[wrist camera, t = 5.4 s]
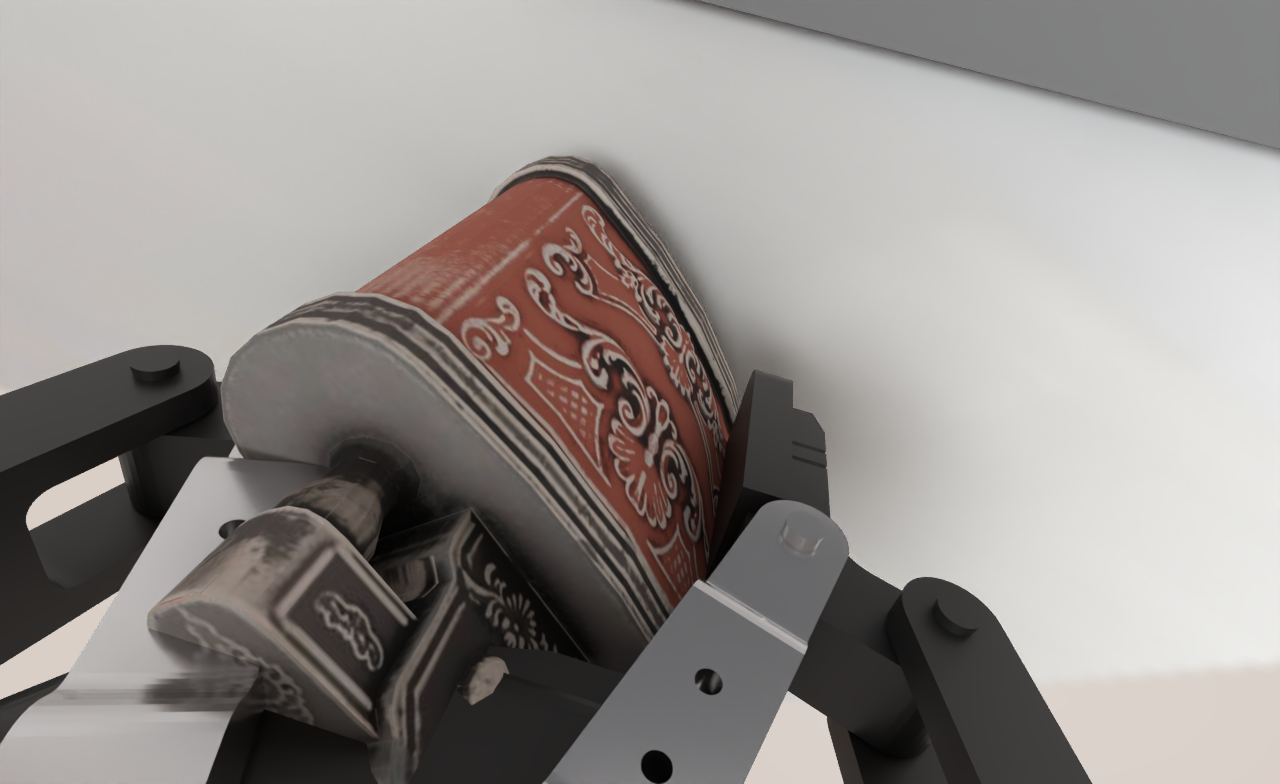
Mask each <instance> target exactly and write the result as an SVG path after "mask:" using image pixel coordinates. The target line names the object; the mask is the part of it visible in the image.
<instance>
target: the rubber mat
mask: <svg viewBox="0 0 1280 784" xmlns="http://www.w3.org/2000/svg"><path fill="white" fill-rule="evenodd" d="M699 1H703V2H707V3H711V4H715V5H719V6H723V7H726V8H730V9H734V10H738V11H742V12H746V13H750V14H754V15H758V16H762V17H766V18H770V19H773V20H777V21H781V22H785V23H789V24H793V25H797V26H801V27H805V28H809V29H813V30H816V31H820V32H824V33H828V34H832V35H836V36H840V37H844V38H848V39H852V40H856V41H859V42H863V43H867V44H871V45H875V46H879V47H883V48H887V49H891V50H895V51H899V52H903V53H906V54H910V55H914V56H918V57H922V58H926V59H930V60H934V61H938V62H942V63H946V64H949V65H953V66H957V67H961V68H965V69H969V70H973V71H977V72H981V73H985V74H989V75H992V76H996V77H1000V78H1004V79H1008V80H1012V81H1016V82H1020V83H1024V84H1028V85H1032V86H1036V87H1039V88H1043V89H1047V90H1051V91H1055V92H1059V93H1063V94H1067V95H1071V96H1075V97H1079V98H1082V99H1086V100H1090V101H1094V102H1098V103H1102V104H1106V105H1110V106H1114V107H1118V108H1122V109H1126V110H1129V111H1133V112H1137V113H1141V114H1145V115H1149V116H1153V117H1157V118H1161V119H1165V120H1169V121H1172V122H1176V123H1180V124H1184V125H1188V126H1192V127H1196V128H1200V129H1204V130H1208V131H1212V132H1215V133H1219V134H1223V135H1227V136H1231V137H1235V138H1239V139H1243V140H1247V141H1251V142H1255V143H1259V144H1262V145H1266V146H1270V147H1274V148H1278V149H1280V0H699Z"/></svg>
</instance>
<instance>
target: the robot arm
mask: <svg viewBox="0 0 1280 784" xmlns="http://www.w3.org/2000/svg"><path fill="white" fill-rule="evenodd" d="M221 384H222V382H216V377H215V370H214V364H213V362H212V360H211V359H210V358H209V357H208V356H207V355H206V354H204V353H203V352H200V351H198V350H196V349H192V348H189V347H183V346H174V345H156V346H147V347H141V348H136V349H132V350H128V351H125V352H122V353H119V354H116V355H114V356H111V357H108V358H105V359H102V360H99V361H97V362H94V363H91V364H88V365H85V366H82V367H80V368H77V369H74V370H71V371H68V372H66V373H63V374H60V375H57V376H54V377H51V378H49V379H46V380H43V381H40V382H37V383H34V384H32V385H29V386H26V387H23V388H20V389H18V390H15V391H12V392H9V393H6V394H3V395H1V396H0V665H1V664H3V663H5V662H6V661H8V660H9V659H11V658H13V657H14V656H16V655H17V654H19V653H20V652H22V651H24V650H25V649H27V648H28V647H30V646H31V645H33V644H35V643H36V642H38V641H40V640H41V639H43V638H44V637H46V636H48V635H49V634H51V633H52V632H54V631H56V630H57V629H59V628H60V627H62V626H64V625H65V624H67V623H68V622H70V621H71V620H73V619H75V618H76V617H78V616H79V615H81V614H83V613H84V612H86V611H87V610H89V609H90V608H92V607H94V606H95V605H97V604H99V603H100V602H102V601H103V600H105V599H106V598H108V597H110V596H111V595H113V594H114V593H116V592H118V591H119V592H118V593H117V595H116V597H115V598H114V600H113V602H112V603H111V605H110V607H109V608H108V610H107V611H106V613H105V615H104V616H103V618H102V620H101V622H100V623H99V625H98V626H97V628H96V629H95V631H94V633H93V635H92V636H91V638H90V639H89V641H88V643H87V644H86V646H85V647H84V649H83V651H82V652H81V654H80V656H79V657H78V659H77V661H76V662H75V664H74V666H73V667H72V669H71V670H70V672H68V673H66V674H63V675H61V676H58V677H56V678H53V679H51V680H48V681H46V682H44V683H41V684H38V685H36V686H33V687H31V688H28V689H26V690H23V691H21V692H18V693H16V694H13V695H11V696H8V697H6V698H3V699H1V700H0V784H378V782H377V781H376V779H375V777H374V775H373V774H372V772H371V766H370V760H369V754H368V748H367V744H366V743H363V742H360V741H357V740H354V739H351V738H348V737H345V736H342V735H340V734H337V733H334V732H331V731H328V730H325V729H322V728H319V727H316V726H313V725H310V724H307V723H304V722H301V721H298V720H295V719H292V718H289V717H286V716H283V715H280V714H277V713H275V712H272V711H269V710H266V709H265V706H266V698H265V691H264V685H263V679H262V672H261V666H260V665H258V664H255V663H252V662H249V661H246V660H243V659H240V658H237V657H234V656H231V655H228V654H225V653H222V652H219V651H216V650H213V649H210V648H207V647H204V646H201V645H198V644H195V643H192V642H189V641H186V640H183V639H180V638H177V637H174V636H171V635H168V634H165V633H162V632H159V631H156V630H153V629H150V628H148V627H147V625H146V623H147V617H148V612H149V611H150V610H151V609H152V608H153V607H154V606H155V605H156V604H157V603H158V602H159V601H161V600H162V599H163V598H164V597H165V596H166V595H167V594H168V593H169V592H170V591H171V590H172V589H173V588H174V587H175V586H176V585H177V584H178V583H180V582H181V581H182V580H183V579H184V578H185V577H186V576H187V575H188V574H189V573H190V572H191V571H192V570H193V569H194V568H195V567H196V566H197V565H198V564H200V563H201V562H202V561H203V560H204V559H205V558H206V557H207V556H208V555H209V554H210V553H211V552H212V551H213V550H214V549H215V548H216V547H217V546H219V545H220V544H221V543H222V542H223V541H224V540H225V539H226V538H227V537H228V536H229V535H230V534H231V533H232V532H233V531H234V530H235V529H236V528H238V527H239V526H240V525H241V524H242V523H244V522H245V521H247V520H248V519H250V518H251V517H252V516H254V515H257V514H259V513H262V512H264V511H267V510H269V509H272V508H273V507H274V506H275V505H276V504H277V503H279V502H280V501H281V500H282V499H283V498H284V497H285V496H286V495H288V494H289V493H290V492H291V491H292V490H295V489H297V488H299V487H302V486H304V485H306V484H309V483H311V482H313V481H316V480H318V479H321V478H323V477H324V476H325V475H326V474H327V473H328V472H329V469H328V467H325V466H320V465H314V464H308V463H300V462H292V461H276V460H261V459H246V458H243V457H242V455H241V454H240V453H239V451H238V449H237V447H236V445H235V443H234V441H233V439H232V437H231V435H230V433H229V430H228V428H227V426H226V424H225V422H224V419H223V409H222V399H221V389H220V387H221ZM825 452H826V446H825V433H824V431H823V429H822V428H821V426H820V425H819V423H818V422H817V420H816V418H815V417H814V415H813V414H811V413H808V412H805V411H801V410H798V409H795V408H793V382H792V381H791V380H788V379H784V378H781V377H778V376H774V375H771V374H767V373H764V372H761V371H757V370H754V371H753V373H752V375H751V377H750V380H749V383H748V385H747V388H746V391H745V394H744V396H743V399H742V402H741V405H740V407H739V410H738V413H737V416H736V418H735V421H734V424H733V426H732V429H731V432H730V435H729V438H728V441H727V444H726V451H725V457H724V463H723V470H722V476H721V483H720V489H719V495H718V502H717V508H716V515H715V521H714V528H713V534H712V540H711V547H710V553H709V560H708V566H707V572H706V579H705V580H703V579H701V578H700V579H698V580H697V581H696V582H695V583H694V585H693V586H692V587H691V588H690V589H689V591H688V592H687V593H686V595H685V596H684V597H683V599H682V600H681V601H680V603H679V604H678V605H677V607H676V608H675V609H674V611H673V612H672V613H671V615H670V616H669V617H668V619H667V620H666V621H665V623H664V624H663V625H662V627H661V628H660V629H659V631H658V632H657V633H656V635H655V636H654V637H653V639H652V640H651V641H650V643H649V644H648V645H647V647H646V648H645V649H644V651H643V652H642V653H641V654H640V656H639V657H638V658H637V660H636V661H635V662H634V664H633V665H632V666H631V668H630V669H629V670H628V672H627V673H626V674H621V673H618V672H615V671H612V670H609V669H606V668H603V667H600V666H597V665H594V664H590V663H587V662H584V661H581V660H578V659H575V658H572V657H569V656H566V655H563V654H559V653H556V652H553V651H545V650H532V649H520V648H508V647H496V646H489V648H488V651H487V653H486V654H489V655H492V656H495V657H498V658H500V659H502V660H503V661H504V662H505V664H506V667H507V669H508V671H509V674H507V673H504V672H503V677H502V679H501V680H500V682H499V684H498V685H497V686H496V688H495V690H494V692H493V693H492V694H490V695H488V696H487V697H485V698H483V699H482V700H480V701H478V702H477V703H475V704H473V705H471V704H470V703H469V702H468V701H467V700H466V699H465V698H464V697H463V696H462V695H461V694H460V693H459V692H458V691H457V688H456V690H455V692H454V694H453V696H452V698H451V700H450V702H449V704H448V706H447V708H446V710H445V712H444V714H443V716H442V718H441V720H440V722H439V724H438V726H437V728H436V730H435V732H434V734H433V736H432V738H431V740H430V742H429V744H428V746H427V748H426V751H425V753H424V755H423V757H422V759H421V761H420V763H419V765H418V767H417V769H416V771H415V773H414V775H413V777H412V779H411V781H410V783H409V784H744V781H745V779H746V777H747V775H748V773H749V771H750V769H751V767H752V765H753V762H754V760H755V758H756V756H757V754H758V752H759V750H760V748H761V746H762V743H763V741H764V739H765V737H766V735H767V733H768V731H769V729H770V727H771V724H772V722H773V720H774V718H775V716H776V714H777V712H778V710H779V707H780V705H781V703H782V701H783V699H784V697H785V695H786V693H787V691H789V692H791V693H792V694H794V695H795V696H797V697H798V698H800V699H801V700H803V701H804V702H806V703H807V704H809V705H810V706H812V707H814V708H815V709H817V710H818V711H820V712H821V713H823V714H824V715H826V716H827V723H828V728H829V732H830V735H831V739H832V742H833V746H834V749H835V753H836V757H837V760H838V764H839V767H840V771H841V775H842V778H843V781H844V784H1092V782H1091V781H1090V779H1089V777H1088V775H1087V774H1086V772H1085V770H1084V769H1083V767H1082V765H1081V763H1080V761H1079V760H1078V758H1077V756H1076V755H1075V753H1074V751H1073V749H1072V748H1071V746H1070V744H1069V742H1068V741H1067V739H1066V737H1065V735H1064V734H1063V732H1062V730H1061V728H1060V727H1059V725H1058V723H1057V722H1056V720H1055V718H1054V716H1053V715H1052V713H1051V711H1050V709H1049V708H1048V706H1047V704H1046V703H1045V701H1044V700H1043V697H1042V696H1041V694H1040V692H1039V691H1038V689H1037V687H1036V685H1035V683H1034V682H1033V680H1032V678H1031V676H1030V675H1029V673H1028V671H1027V670H1026V668H1025V666H1024V664H1023V663H1022V661H1021V659H1020V657H1019V656H1018V654H1017V652H1016V650H1015V649H1014V647H1013V645H1012V643H1011V642H1010V640H1009V638H1008V637H1007V635H1006V633H1005V631H1004V630H1003V628H1002V626H1001V624H1000V623H999V621H998V620H997V618H996V617H995V616H994V614H993V613H992V612H991V611H990V610H989V609H988V608H987V607H986V606H985V605H984V604H983V603H982V602H981V601H980V600H979V599H978V598H976V597H975V596H974V595H972V594H971V593H969V592H968V591H966V590H965V589H963V588H961V587H959V586H958V585H955V584H953V583H951V582H948V581H945V580H942V579H938V578H933V577H921V578H916V579H914V580H912V581H910V582H909V583H907V585H906V586H905V587H904V589H903V590H902V591H901V590H899V589H898V588H896V587H894V586H892V585H891V584H889V583H887V582H885V581H883V580H882V579H880V578H878V577H876V576H874V575H873V574H871V573H869V572H868V571H866V570H865V569H863V568H862V567H860V566H859V565H858V564H856V563H855V562H854V561H853V560H852V559H851V558H850V557H849V556H848V555H849V546H848V542H847V539H846V537H845V535H844V534H843V532H842V530H841V529H840V528H839V527H838V525H837V524H836V523H835V522H834V521H833V520H832V519H830V506H829V491H828V476H827V469H826V466H827V461H826V454H825ZM117 456H118V457H119V461H120V464H121V468H122V472H123V476H124V479H125V483H123V484H121V485H119V486H117V487H115V488H113V489H111V490H109V491H107V492H105V493H103V494H101V495H99V496H97V497H95V498H93V499H91V500H89V501H87V502H85V503H83V504H81V505H79V506H77V507H75V508H73V509H71V510H69V511H67V512H65V513H64V514H62V515H60V516H58V517H56V518H54V519H52V520H50V521H48V522H46V523H44V524H42V525H40V526H38V527H36V528H34V529H32V530H30V531H29V530H28V528H27V525H26V515H27V512H28V509H29V507H30V506H31V505H32V503H33V502H34V501H35V499H37V498H38V497H39V496H40V495H41V494H42V493H43V492H45V491H46V490H48V489H50V488H52V487H54V486H56V485H58V484H60V483H62V482H64V481H67V480H69V479H71V478H73V477H75V476H77V475H79V474H81V473H84V472H86V471H88V470H90V469H92V468H94V467H96V466H98V465H100V464H103V463H105V462H107V461H109V460H111V459H113V458H115V457H117Z"/></svg>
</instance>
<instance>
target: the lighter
mask: <svg viewBox="0 0 1280 784" xmlns="http://www.w3.org/2000/svg"><path fill="white" fill-rule="evenodd" d="M220 389H221V399H222V409H223V419H224V422H225V424H226V426H227V428H228V430H229V433H230V435H231V437H232V439H233V441H234V443H235V445H236V447H237V449H238V451H239V453H240V454H241V455H242V457H243V458H246V459H261V460H276V461H292V462H300V463H308V464H314V465H320V466H325V467H328V469H329V472H328V473H327V474H326V475H325V476H324V477H323V478H321V479H318V480H316V481H313V482H311V483H309V484H306V485H304V486H302V487H299V488H297V489H295V490H292V491H291V492H290V493H289V494H288V495H286V496H285V497H284V498H283V499H282V500H281V501H280V502H279V503H277V504H276V505H275V506H274V507H273V508H272V509H269V510H267V511H264V512H262V513H259V514H257V515H254V516H252V517H251V518H250V519H248V520H247V521H245V522H244V523H242V524H241V525H240V526H239V527H238V528H236V529H235V530H234V531H233V532H232V533H231V534H230V535H229V536H228V537H227V538H226V539H225V540H224V541H223V542H222V543H221V544H220V545H219V546H217V547H216V548H215V549H214V550H213V551H212V552H211V553H210V554H209V555H208V556H207V557H206V558H205V559H204V560H203V561H202V562H201V563H200V564H198V565H197V566H196V567H195V568H194V569H193V570H192V571H191V572H190V573H189V574H188V575H187V576H186V577H185V578H184V579H183V580H182V581H181V582H180V583H178V584H177V585H176V586H175V587H174V588H173V589H172V590H171V591H170V592H169V593H168V594H167V595H166V596H165V597H164V598H163V599H162V600H161V601H159V602H158V603H157V604H156V605H155V606H154V607H153V608H152V609H151V610H150V611H149V612H148V617H147V623H146V625H147V627H148V628H150V629H153V630H156V631H159V632H162V633H165V634H168V635H171V636H174V637H177V638H180V639H183V640H186V641H189V642H192V643H195V644H198V645H201V646H204V647H207V648H210V649H213V650H216V651H219V652H222V653H225V654H228V655H231V656H234V657H237V658H240V659H243V660H246V661H249V662H252V663H255V664H258V665H260V666H261V672H262V679H263V685H264V691H265V698H266V706H265V709H266V710H269V711H272V712H275V713H277V714H280V715H283V716H286V717H289V718H292V719H295V720H298V721H301V722H304V723H307V724H310V725H313V726H316V727H319V728H322V729H325V730H328V731H331V732H334V733H337V734H340V735H342V736H345V737H348V738H351V739H354V740H357V741H360V742H363V743H366V744H367V748H368V754H369V760H370V766H371V772H372V774H373V775H374V777H375V779H376V781H377V782H378V784H409V783H410V781H411V779H412V777H413V775H414V773H415V771H416V769H417V767H418V765H419V763H420V761H421V759H422V757H423V755H424V753H425V751H426V748H427V746H428V744H429V742H430V740H431V738H432V736H433V734H434V732H435V730H436V728H437V726H438V724H439V722H440V720H441V718H442V716H443V714H444V712H445V710H446V708H447V706H448V704H449V702H450V700H451V698H452V696H453V694H454V692H455V690H456V688H457V691H458V692H459V693H460V694H461V695H462V696H463V697H464V698H465V699H466V700H467V701H468V702H469V703H470V704H471V705H473V704H475V703H477V702H478V701H480V700H482V699H483V698H485V697H487V696H488V695H490V694H492V693H493V692H494V690H495V688H496V686H497V685H498V684H499V682H500V680H501V679H502V677H503V672H504V673H507V674H509V671H508V669H507V667H506V664H505V662H504V661H503V660H502V659H500V658H498V657H495V656H492V655H489V654H486V653H487V651H488V648H489V646H496V647H508V648H520V649H532V650H545V651H553V652H556V653H559V654H563V655H566V656H569V657H572V658H575V659H578V660H581V661H584V662H587V663H590V664H594V665H597V666H600V667H603V668H606V669H609V670H612V671H615V672H618V673H621V674H626V673H627V672H628V670H629V669H630V668H631V666H632V665H633V664H634V662H635V661H636V660H637V658H638V657H639V656H640V654H641V653H642V652H643V651H644V649H645V648H646V647H647V645H648V644H649V643H650V641H651V640H652V639H653V637H654V636H655V635H656V633H657V632H658V631H659V629H660V628H661V627H662V625H663V624H664V623H665V621H666V620H667V619H668V617H669V616H670V615H671V613H672V612H673V611H674V609H675V608H676V607H677V605H678V604H679V603H680V601H681V600H682V599H683V597H684V596H685V595H686V593H687V592H688V591H689V589H690V588H691V587H692V586H693V585H694V583H695V582H696V581H697V580H698V579H700V578H701V579H703V580H705V579H706V572H707V566H708V560H709V553H710V547H711V540H712V534H713V528H714V521H715V515H716V508H717V502H718V495H719V489H720V483H721V476H722V470H723V463H724V457H725V451H726V444H727V441H728V438H729V435H730V432H731V429H732V426H733V424H734V421H735V418H736V416H737V413H738V410H739V407H740V405H741V403H740V399H739V396H738V392H737V389H736V385H735V382H734V378H733V376H732V374H731V371H730V369H729V367H728V364H727V362H726V360H725V357H724V355H723V353H722V351H721V348H720V346H719V344H718V341H717V339H716V337H715V334H714V332H713V330H712V327H711V325H710V323H709V320H708V318H707V316H706V313H705V311H704V310H703V308H702V306H701V305H700V303H699V301H698V300H697V298H696V297H695V295H694V293H693V292H692V290H691V288H690V287H689V285H688V284H687V282H686V280H685V279H684V277H683V275H682V274H681V272H680V270H679V269H678V267H677V266H676V264H675V262H674V261H673V259H672V257H671V256H670V254H669V253H668V251H667V249H666V248H665V246H664V244H663V243H662V242H661V240H660V239H659V238H658V236H657V235H656V234H655V233H654V231H653V230H652V229H651V228H650V226H649V225H648V224H647V222H646V221H645V220H644V219H643V217H642V216H641V215H640V214H639V212H638V211H637V210H636V208H635V207H634V206H633V205H632V203H631V202H630V201H629V200H628V198H627V197H626V196H625V194H624V193H623V192H622V191H621V189H620V188H619V187H618V185H617V184H616V183H615V182H614V180H613V179H612V178H611V177H610V176H609V175H608V174H607V173H605V172H604V171H603V170H602V169H601V168H600V167H598V166H597V165H596V164H595V163H592V162H589V161H586V160H584V159H581V158H578V157H575V156H549V157H546V158H544V159H541V160H538V161H536V162H533V163H530V164H528V165H527V166H525V167H523V168H522V169H520V170H519V171H517V172H515V173H514V174H512V175H511V176H510V177H509V178H508V179H507V180H505V181H504V182H503V183H502V184H501V185H499V186H498V187H497V188H496V189H495V190H494V192H493V194H492V196H491V198H490V200H489V201H488V203H487V204H486V205H485V206H483V207H482V208H480V209H479V210H477V211H476V212H474V213H473V214H471V215H470V216H468V217H467V218H465V219H464V220H462V221H461V222H459V223H458V224H456V225H455V226H453V227H452V228H450V229H449V230H447V231H446V232H444V233H443V234H441V235H440V236H438V237H437V238H435V239H434V240H432V241H431V242H429V243H428V244H426V245H425V246H423V247H422V248H420V249H419V250H417V251H416V252H414V253H413V254H411V255H410V256H408V257H407V258H405V259H404V260H402V261H401V262H399V263H398V264H396V265H395V266H393V267H392V268H390V269H389V270H387V271H386V272H384V273H383V274H381V275H380V276H378V277H377V278H375V279H374V280H372V281H371V282H369V283H368V284H366V285H365V286H363V287H362V288H360V289H359V290H357V291H356V292H354V293H351V292H338V293H335V294H332V295H329V296H326V297H323V298H320V299H317V300H314V301H311V302H308V303H305V304H304V305H302V306H300V307H299V308H297V309H296V310H294V311H292V312H291V313H289V314H288V315H286V316H284V317H283V318H281V319H280V320H278V321H276V322H275V323H273V324H271V325H270V326H268V327H267V328H265V329H263V330H262V331H260V332H259V333H257V334H255V335H254V336H253V337H252V338H251V339H250V340H249V341H248V342H247V343H246V344H245V345H244V346H243V347H242V348H240V349H239V350H238V351H237V352H236V353H235V354H234V355H233V356H232V357H231V359H230V361H229V364H228V367H227V370H226V373H225V376H224V379H223V381H222V384H221V387H220Z"/></svg>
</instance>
